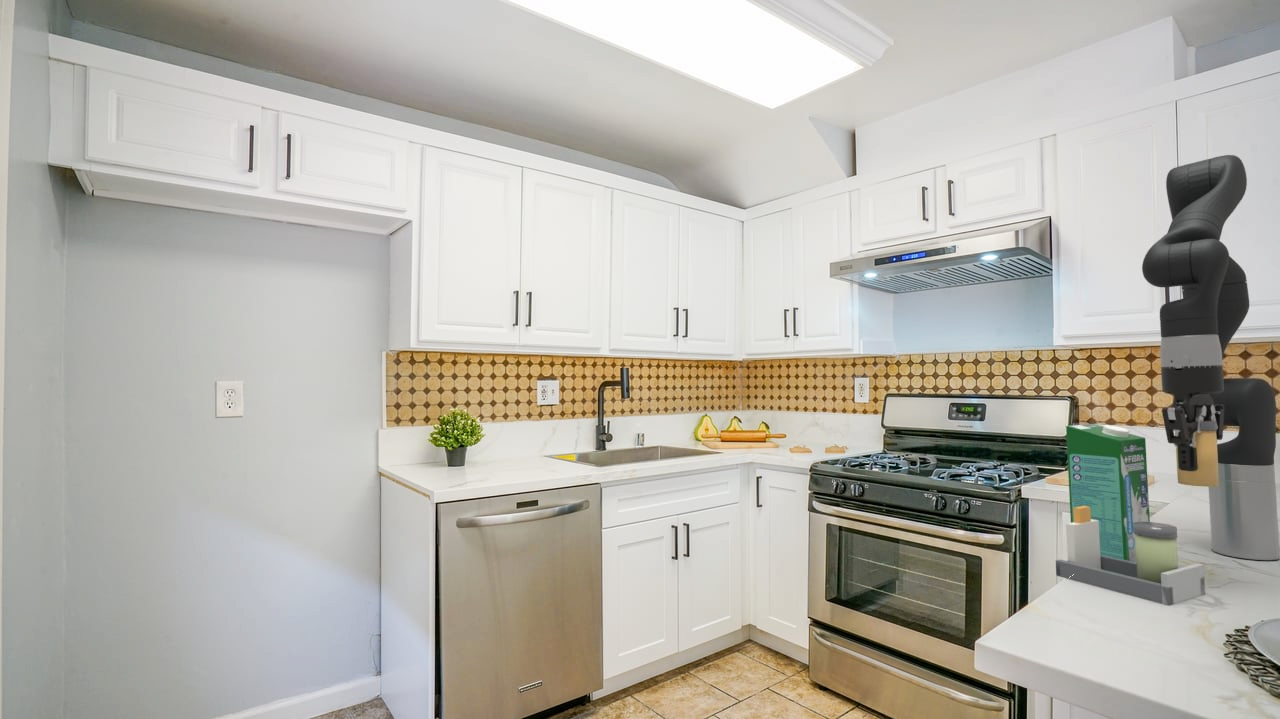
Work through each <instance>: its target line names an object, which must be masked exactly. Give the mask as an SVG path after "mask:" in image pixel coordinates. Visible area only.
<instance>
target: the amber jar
mask: <svg viewBox="0 0 1280 719" xmlns="http://www.w3.org/2000/svg"><path fill="white" fill-rule="evenodd" d="M1186 423H1187V422H1186ZM1194 425H1195V422H1193V423H1187V427H1193V426H1194ZM1201 429H1202V432H1201V433H1200V434H1198V435H1197V442H1196V447H1195V448H1196V449H1197V465H1198V469H1197V470H1196V471H1183V470H1180V469H1179V465H1178V449H1177V446H1175V454H1176V458H1175V459H1176V473H1177V474H1176V475H1177V477H1176V478H1177V484H1180V485H1185V486H1191V487H1192V486H1193V487H1208V488H1209V487H1213V486H1219V470H1218V453H1217V444H1218V440H1217V435H1216V430H1217V421H1203V422H1201ZM1189 436H1190V433H1189Z"/></svg>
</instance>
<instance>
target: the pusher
mask: <svg viewBox="0 0 1280 719" xmlns="http://www.w3.org/2000/svg"><path fill="white" fill-rule="evenodd" d="M1073 513H1074V522H1073V523H1071V522H1068V523H1066V524H1065V526H1066V527H1065V528H1066V546H1067V547H1066V549H1067V551H1066V552H1067V561H1069V562H1073V563H1077V564H1081V565H1085V566H1089V567H1094V568H1098V569H1101V558H1100V538H1099V520H1093V519H1091V513H1090V507H1088V506H1081V507H1075V508H1073Z"/></svg>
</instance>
